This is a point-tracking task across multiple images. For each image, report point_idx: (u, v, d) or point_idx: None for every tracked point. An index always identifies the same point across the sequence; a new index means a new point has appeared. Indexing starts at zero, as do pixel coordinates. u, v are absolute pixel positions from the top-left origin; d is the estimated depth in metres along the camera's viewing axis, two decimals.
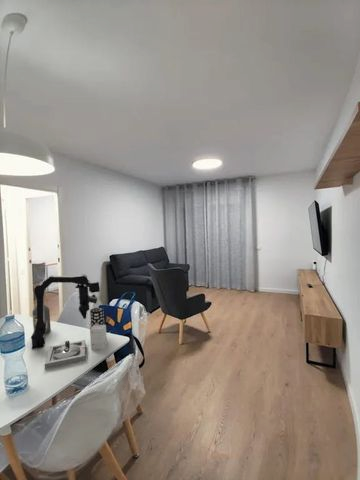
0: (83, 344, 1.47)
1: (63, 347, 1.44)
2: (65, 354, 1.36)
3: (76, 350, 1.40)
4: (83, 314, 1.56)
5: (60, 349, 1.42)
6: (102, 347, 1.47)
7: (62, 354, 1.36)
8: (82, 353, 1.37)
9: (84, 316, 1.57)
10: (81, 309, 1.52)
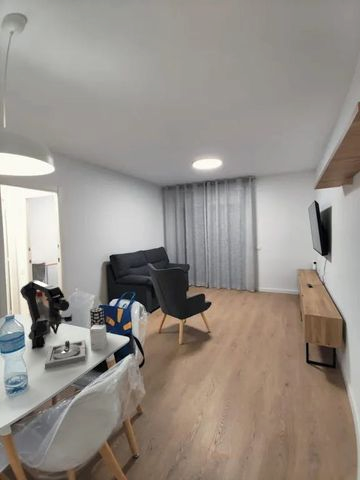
0: (83, 344, 1.47)
1: (63, 347, 1.44)
2: (65, 354, 1.36)
3: (76, 350, 1.40)
4: None
5: (60, 349, 1.42)
6: (102, 347, 1.47)
7: (62, 354, 1.36)
8: (82, 353, 1.37)
9: None
10: None
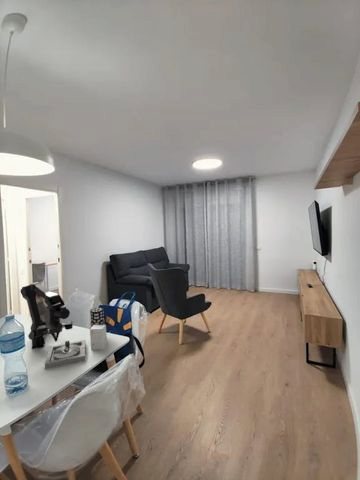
0: (83, 344, 1.47)
1: (63, 347, 1.44)
2: (65, 354, 1.36)
3: (76, 350, 1.40)
4: (53, 335, 1.43)
5: (60, 349, 1.42)
6: (102, 347, 1.47)
7: (62, 354, 1.36)
8: (82, 353, 1.37)
9: None
10: None
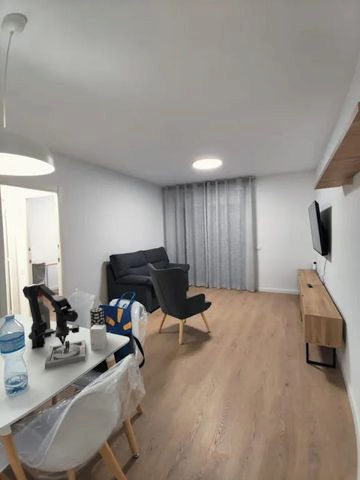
0: (83, 344, 1.47)
1: (63, 347, 1.44)
2: (65, 354, 1.36)
3: (76, 350, 1.40)
4: None
5: (60, 349, 1.42)
6: (102, 347, 1.47)
7: (62, 354, 1.36)
8: (82, 353, 1.37)
9: None
10: None
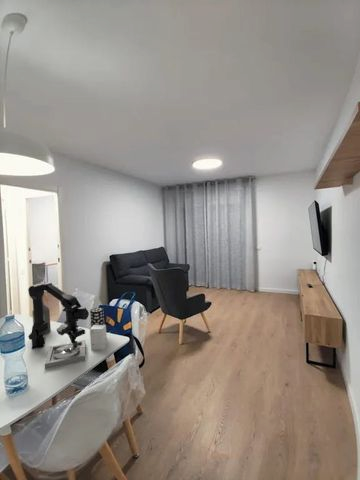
0: (83, 344, 1.47)
1: (71, 346, 1.45)
2: (58, 353, 1.37)
3: (68, 354, 1.35)
4: None
5: (67, 346, 1.45)
6: (102, 347, 1.47)
7: (59, 352, 1.39)
8: (82, 353, 1.37)
9: None
10: None
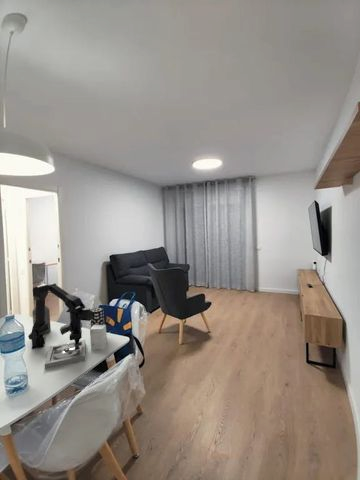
0: (83, 344, 1.47)
1: (75, 347, 1.44)
2: (58, 351, 1.39)
3: (61, 356, 1.35)
4: None
5: (72, 346, 1.45)
6: (102, 347, 1.47)
7: (60, 350, 1.41)
8: (82, 353, 1.37)
9: None
10: None
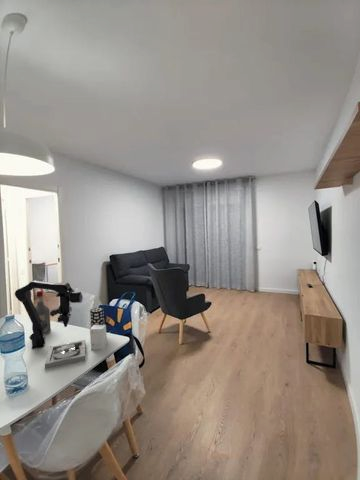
0: (83, 344, 1.47)
1: (75, 347, 1.44)
2: (58, 351, 1.39)
3: (61, 356, 1.35)
4: None
5: (72, 346, 1.45)
6: (102, 347, 1.47)
7: (60, 350, 1.41)
8: (82, 353, 1.37)
9: None
10: None
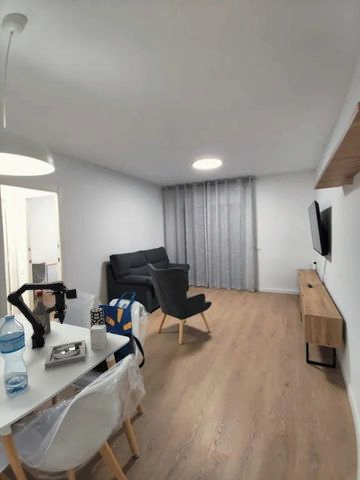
0: (83, 344, 1.47)
1: (75, 347, 1.44)
2: (58, 351, 1.39)
3: (61, 356, 1.35)
4: None
5: (72, 346, 1.45)
6: (102, 347, 1.47)
7: (60, 350, 1.41)
8: (82, 353, 1.37)
9: None
10: None
